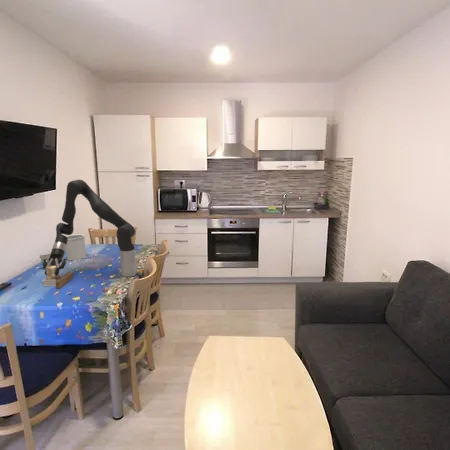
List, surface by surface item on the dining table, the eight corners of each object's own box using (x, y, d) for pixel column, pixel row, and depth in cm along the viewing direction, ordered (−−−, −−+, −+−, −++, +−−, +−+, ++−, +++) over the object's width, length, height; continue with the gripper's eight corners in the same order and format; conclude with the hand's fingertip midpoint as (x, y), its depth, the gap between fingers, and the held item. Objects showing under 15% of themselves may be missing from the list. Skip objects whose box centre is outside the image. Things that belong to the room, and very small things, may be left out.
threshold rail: (73, 277, 207) (72, 271, 206) (59, 288, 190) (58, 282, 189) (70, 277, 207) (69, 271, 206) (56, 288, 190) (55, 282, 189)
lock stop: (59, 280, 200) (57, 265, 198) (55, 283, 196) (53, 268, 194) (52, 281, 200) (50, 265, 199) (48, 283, 196) (46, 268, 194)
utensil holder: (81, 260, 243) (79, 238, 239) (62, 261, 243) (59, 238, 240) (90, 255, 257) (87, 234, 254) (71, 255, 258) (69, 234, 254)
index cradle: (63, 280, 203) (62, 275, 202) (56, 285, 194) (55, 280, 194) (50, 280, 203) (49, 275, 202) (43, 286, 194) (42, 280, 193)
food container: (38, 270, 223) (36, 256, 221) (41, 267, 229) (39, 254, 227) (58, 268, 226) (56, 254, 224) (60, 265, 232) (58, 252, 230)
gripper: (44, 247, 201) (36, 272, 192) (67, 247, 202) (60, 271, 192) (49, 253, 208) (42, 277, 198) (72, 253, 208) (65, 277, 198)
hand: (51, 274), depth 195 cm, fingers open, 5 cm apart
